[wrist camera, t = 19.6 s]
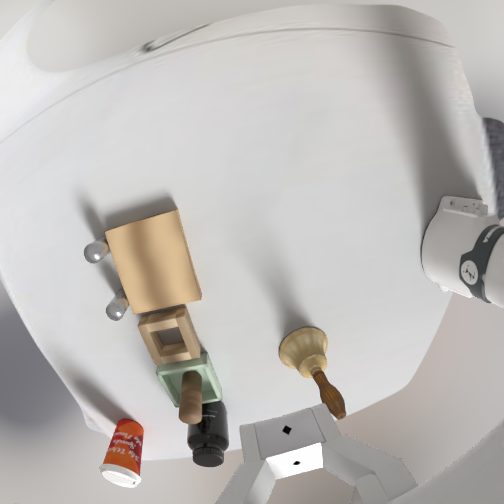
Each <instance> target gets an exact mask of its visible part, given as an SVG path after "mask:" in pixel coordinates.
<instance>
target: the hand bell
mask: <svg viewBox="0 0 504 504" xmlns="http://www.w3.org/2000/svg"><path fill="white" fill-rule="evenodd" d="M327 346H328V341H327V337H326V335H325V334H324V333H323V332H322V331H321V330H319V329H318V328H314V327H304V328H300V329H297V330H295V331H293V332H292V333H290V334H289V335H288V336H287V337H286V338H285V339H284V340H283V342H282V343H281V345H280V349H279V356H280V359H281V361H282V362H283V363H284V364H285V365H286V366H288V367H290V368H293V369H297V370H298V371H299V373H300V374H301V375H302V376H303V377H306V378H313V379H314V380H315V382H316V383H317V385H318V387H319V389H320V397H321V400H322V403H324V404H326V406H327V408H328V410H329V412H330V413H331V414H332V415H334V416H335V417H336V418H337V419H338V420H339V419H343V418H344V417H345V416H346V411H345V403H344V400H343V397H342V395H341V394H340V392H339V391H338V390H337V389H336V388H335V387H334V386H333V385H331V384H330V383H329V382H328V380H327V378H326V376H325V374H324V370H325V369H326V367H327V359H326V357H325V353H326V350H327Z"/></svg>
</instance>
